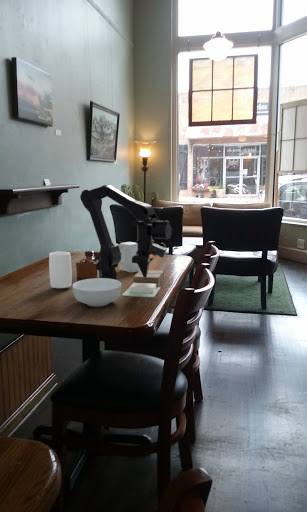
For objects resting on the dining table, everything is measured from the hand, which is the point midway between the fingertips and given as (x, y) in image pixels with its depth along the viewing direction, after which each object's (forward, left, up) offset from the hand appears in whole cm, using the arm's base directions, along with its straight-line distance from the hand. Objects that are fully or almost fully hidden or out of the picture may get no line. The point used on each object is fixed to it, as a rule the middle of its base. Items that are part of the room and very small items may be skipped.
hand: (145, 276), depth 166 cm
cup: (-28, +17, -5) cm, 33 cm away
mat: (-4, -4, -4) cm, 7 cm away
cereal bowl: (-24, -9, -5) cm, 26 cm away
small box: (+11, +32, -5) cm, 34 cm away
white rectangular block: (-3, -3, -2) cm, 5 cm away
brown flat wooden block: (+6, +6, -4) cm, 10 cm away
